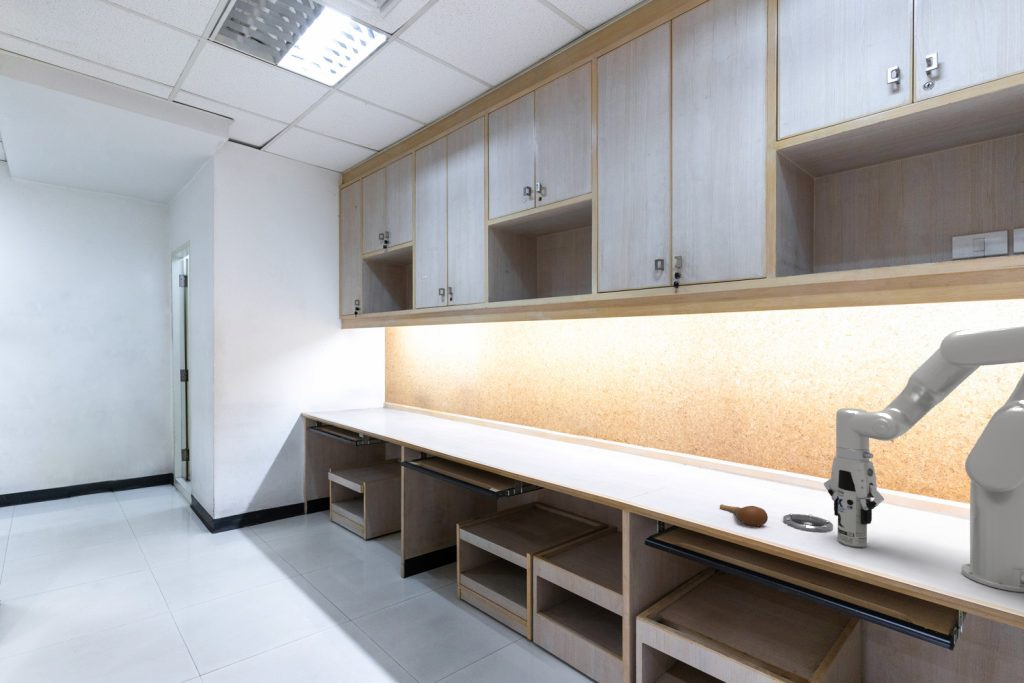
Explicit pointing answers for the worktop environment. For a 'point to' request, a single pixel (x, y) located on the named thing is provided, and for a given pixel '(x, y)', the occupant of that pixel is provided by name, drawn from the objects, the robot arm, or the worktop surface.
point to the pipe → (748, 514)
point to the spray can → (850, 513)
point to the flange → (808, 523)
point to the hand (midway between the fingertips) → (852, 518)
